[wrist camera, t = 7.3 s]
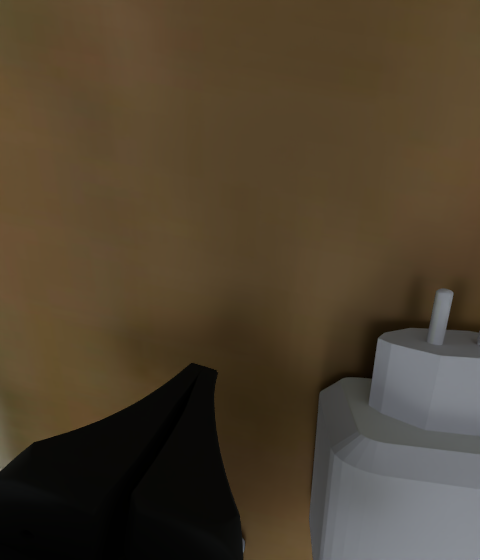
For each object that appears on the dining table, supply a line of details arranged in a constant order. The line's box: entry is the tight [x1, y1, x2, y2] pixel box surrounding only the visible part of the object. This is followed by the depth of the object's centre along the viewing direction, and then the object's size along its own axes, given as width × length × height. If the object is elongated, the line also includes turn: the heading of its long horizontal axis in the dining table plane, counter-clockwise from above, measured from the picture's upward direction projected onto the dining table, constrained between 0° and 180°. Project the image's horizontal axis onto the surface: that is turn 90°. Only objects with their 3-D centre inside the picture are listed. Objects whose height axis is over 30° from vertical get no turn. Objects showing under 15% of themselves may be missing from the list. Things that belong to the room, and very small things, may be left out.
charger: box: [309, 288, 480, 560], centre depth 11 cm, size 5×9×15 cm
